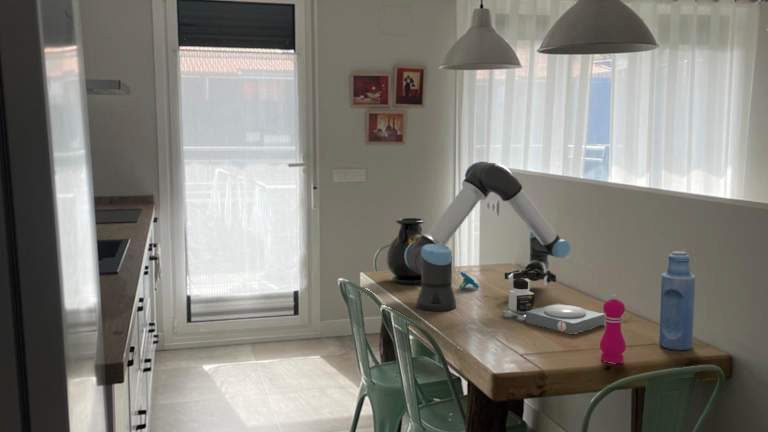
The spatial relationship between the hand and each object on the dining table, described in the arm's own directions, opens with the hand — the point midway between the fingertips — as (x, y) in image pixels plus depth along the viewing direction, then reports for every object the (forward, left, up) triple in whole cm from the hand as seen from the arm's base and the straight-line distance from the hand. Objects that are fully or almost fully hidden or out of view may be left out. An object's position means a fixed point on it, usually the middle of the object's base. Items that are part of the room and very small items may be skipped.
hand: (526, 281), depth 274 cm
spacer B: (-19, -14, -9) cm, 25 cm away
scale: (-12, -27, -9) cm, 31 cm away
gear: (+3, +33, -9) cm, 35 cm away
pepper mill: (-34, -60, -9) cm, 69 cm away
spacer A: (-19, -8, -9) cm, 22 cm away
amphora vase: (-7, +60, -9) cm, 61 cm away
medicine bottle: (-9, -5, -9) cm, 14 cm away
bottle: (-7, -65, -9) cm, 66 cm away
